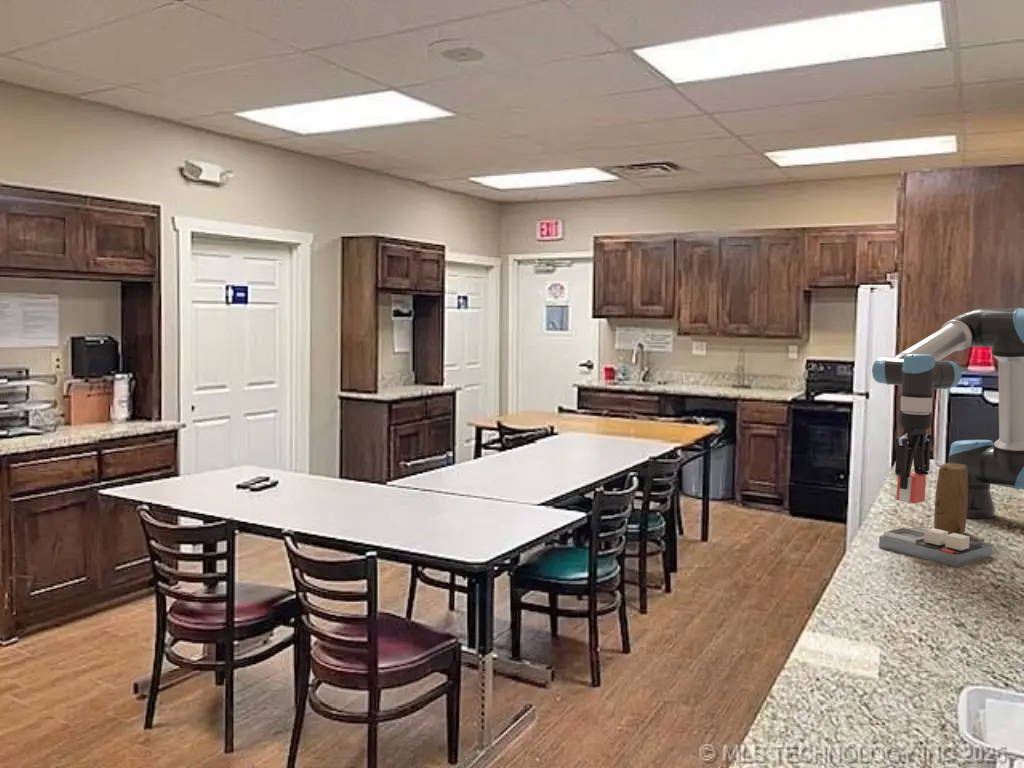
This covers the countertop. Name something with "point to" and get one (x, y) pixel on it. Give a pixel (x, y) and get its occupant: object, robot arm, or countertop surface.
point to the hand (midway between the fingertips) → (910, 499)
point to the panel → (932, 547)
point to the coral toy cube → (915, 487)
